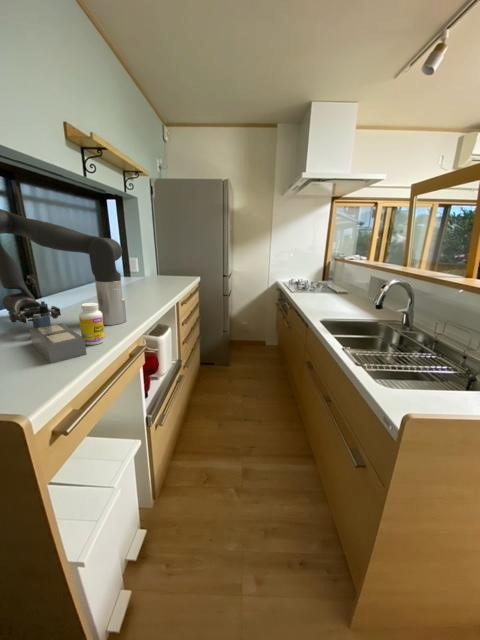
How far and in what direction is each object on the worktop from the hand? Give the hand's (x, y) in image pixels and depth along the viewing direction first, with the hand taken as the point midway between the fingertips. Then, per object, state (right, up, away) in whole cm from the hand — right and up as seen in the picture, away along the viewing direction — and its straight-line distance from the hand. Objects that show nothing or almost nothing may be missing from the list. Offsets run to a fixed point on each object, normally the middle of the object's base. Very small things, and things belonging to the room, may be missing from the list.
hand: (40, 318), depth 91 cm
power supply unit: (+11, -10, -8) cm, 17 cm away
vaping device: (0, -7, +2) cm, 7 cm away
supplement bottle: (+19, -8, -1) cm, 21 cm away
